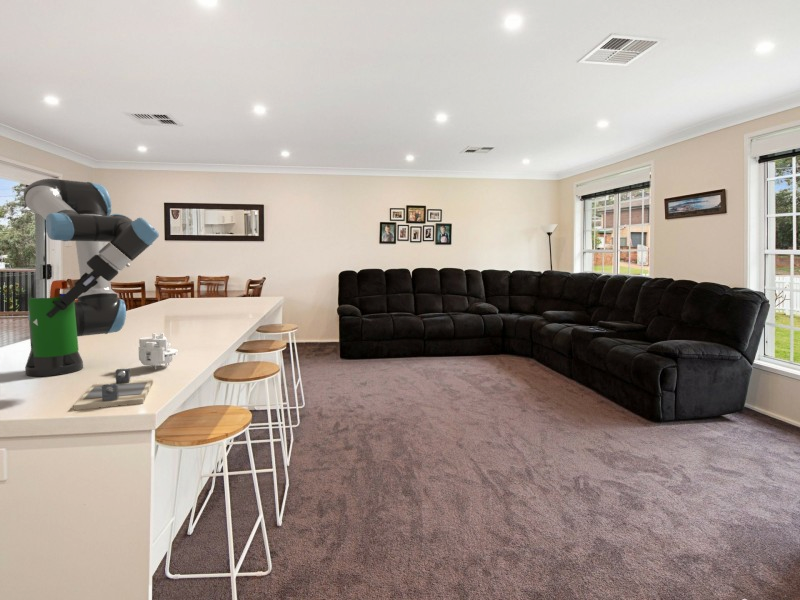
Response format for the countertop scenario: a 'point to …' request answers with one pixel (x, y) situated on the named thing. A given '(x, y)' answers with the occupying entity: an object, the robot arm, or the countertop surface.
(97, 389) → the mount plate
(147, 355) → the mechanical part
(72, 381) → the countertop surface
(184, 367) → the countertop surface
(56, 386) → the countertop surface
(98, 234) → the robot arm
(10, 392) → the countertop surface
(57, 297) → the green plastic cylinder
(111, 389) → the knobbed dark grey block
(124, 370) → the grey block with stub
